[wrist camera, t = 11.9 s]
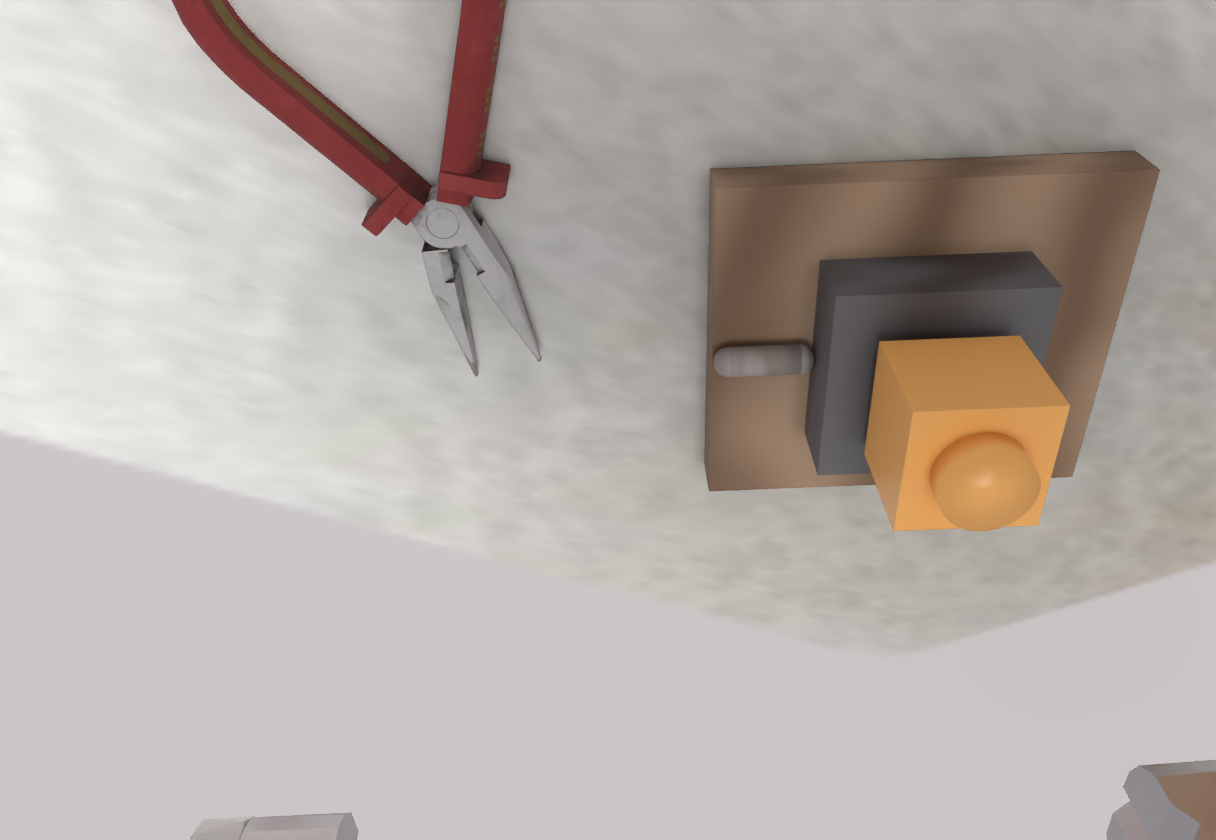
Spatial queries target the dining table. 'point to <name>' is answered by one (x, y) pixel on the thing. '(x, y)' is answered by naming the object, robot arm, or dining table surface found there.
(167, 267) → the dining table surface
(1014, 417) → the orange knobbed cube
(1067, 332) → the board
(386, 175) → the pliers
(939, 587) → the dining table surface
